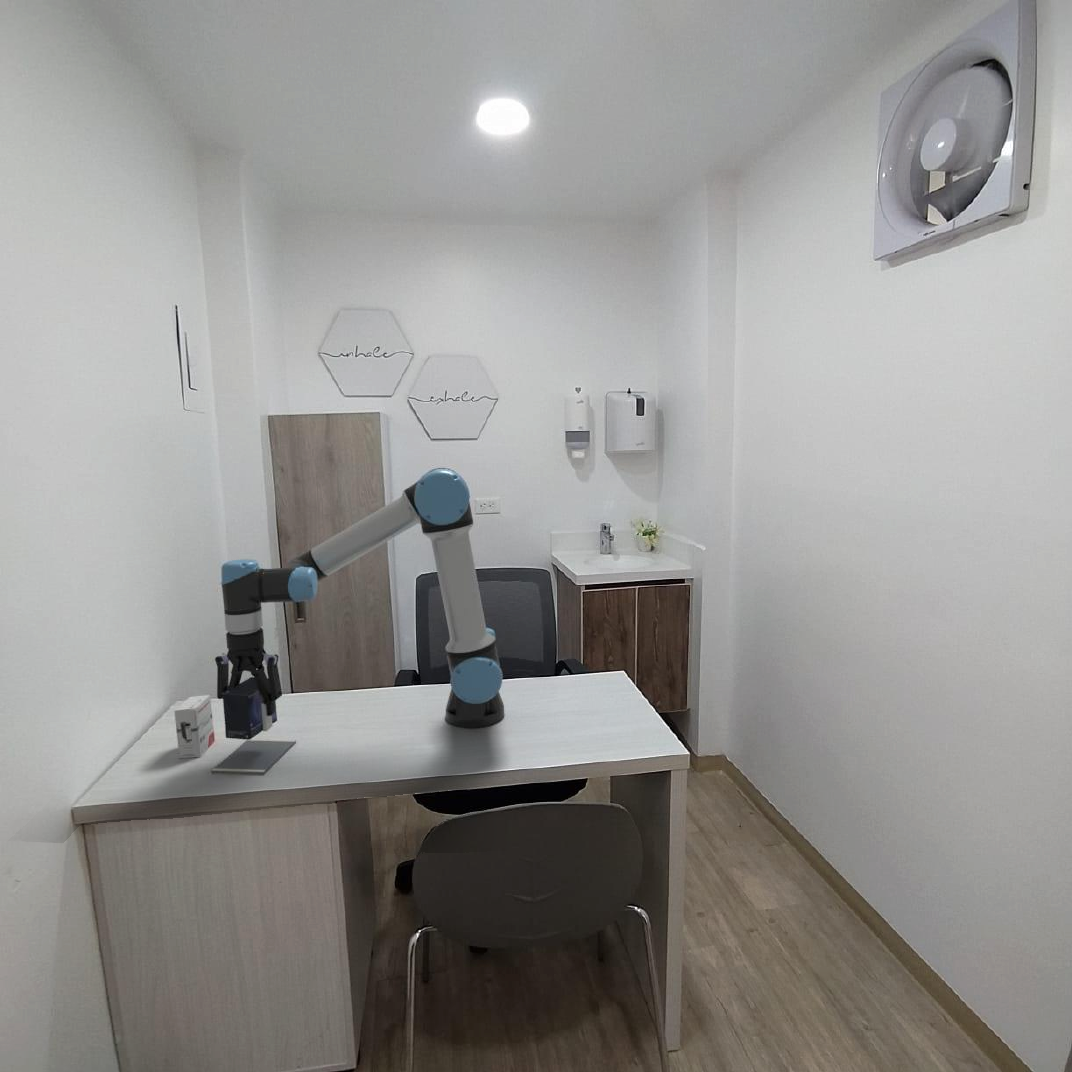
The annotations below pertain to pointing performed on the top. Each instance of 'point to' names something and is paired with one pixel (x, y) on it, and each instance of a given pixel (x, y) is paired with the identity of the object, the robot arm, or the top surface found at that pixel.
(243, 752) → the mat
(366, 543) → the robot arm
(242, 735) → the small box
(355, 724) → the top surface
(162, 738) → the top surface
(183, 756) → the ink box
